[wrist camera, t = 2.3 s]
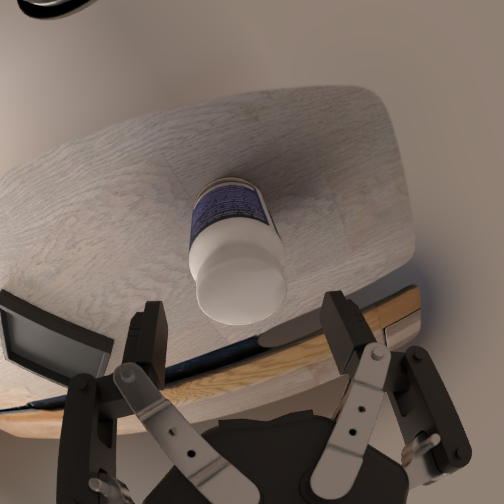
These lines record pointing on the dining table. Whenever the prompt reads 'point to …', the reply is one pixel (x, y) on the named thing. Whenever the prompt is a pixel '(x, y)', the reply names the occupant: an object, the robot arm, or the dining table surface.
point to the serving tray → (49, 343)
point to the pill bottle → (236, 254)
